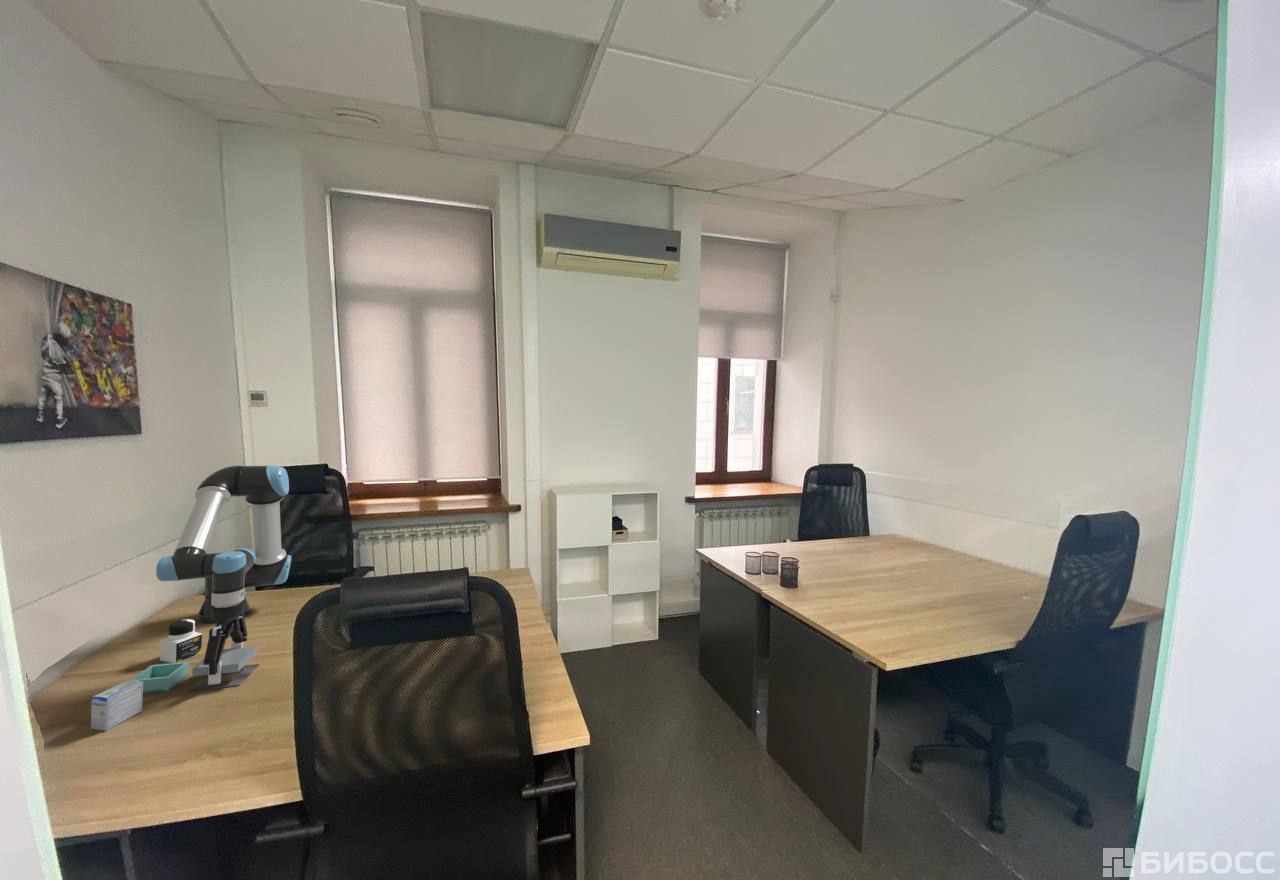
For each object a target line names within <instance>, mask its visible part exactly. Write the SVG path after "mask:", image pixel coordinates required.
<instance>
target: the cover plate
mask: <svg viewBox="0 0 1280 880" xmlns="http://www.w3.org/2000/svg"><path fill="white" fill-rule="evenodd" d="M257 654H258V646H243V648H232V649H231V648H224V649H223V652H222V655H221V658H220V661H222V664H221V673H230V672H238V671H239V670H240V669H241V668H243V667H244V666H245V665H248V663H249V662H250V661H251V660H252V659H253V658H254V657H255V656H256V655H257ZM203 663H204V658H203V659H202V660H201V661H200V662H198V663H196V665H194V666H193V667H192V672H191V673H192V675H191V676H192V677H197V676H205V675H208V671H209V665H203Z"/></svg>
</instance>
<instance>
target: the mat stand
mask: <svg viewBox="0 0 1280 880" xmlns="http://www.w3.org/2000/svg"><path fill="white" fill-rule="evenodd" d="M259 666H260V663H257V664H256V663H255V664H246V665H245V666H244V667H243V668H241V669H240V670H239V671H238V672H230V673H221V683H220V684H212V685H208V675H203V677H202V678H201V679H199V681H197V682H196V683H195V684H194V685H193V686H192V687H190V688H189V689H188V692H195V691H205V690H206V691H207V690H213V689H224V688H233V687H239V686H241V685H242V683H244V681H245V680H246V679H247V678H249V676H250V675H251V674H252V673H253V672H255V670H256V669H257V668H258V667H259Z"/></svg>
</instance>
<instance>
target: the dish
mask: <svg viewBox="0 0 1280 880" xmlns="http://www.w3.org/2000/svg"><path fill="white" fill-rule="evenodd" d="M189 667H190V661H182V662H180V663H161V664H152V665H150V666H148V667H147V668H146V669H144V670H142V671H141V672H140V673H138V674H137V675H136V676H135V677H133V678H131V679H130V680H136V681H143V694H155V693H162V692H169V691H170V690H172V689H173V688H174V687H175V686H176V685H177V684H179V683H180V682H181V681H183V680H184V679H185V678H186V677H187V676H189V670H190V669H189Z"/></svg>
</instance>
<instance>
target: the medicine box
mask: <svg viewBox="0 0 1280 880" xmlns="http://www.w3.org/2000/svg"><path fill="white" fill-rule="evenodd" d="M90 709H91V712H90V713H91V716H90V717H91V719H90V720H91V721H90V730H92V729H95V730H94V731H102V730H103V731H104V732H105V731H106V732H107V731H109V730H111V729H112V728H114V727H116V726H117V725H119V724H122V723H123V722H125V721H127V720H129V719H131V718H132V717H134V716H135V715H137V714H140V713H141V712H142V711H143V681H136V680H131V679H126V680H125V681H123V682H121V683H118V684H116V685H114V686H111V687H110V688H108V689H106V690H104V691H102V692H99V693H97V694H95V695H93V696H92V697H91V708H90Z"/></svg>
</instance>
